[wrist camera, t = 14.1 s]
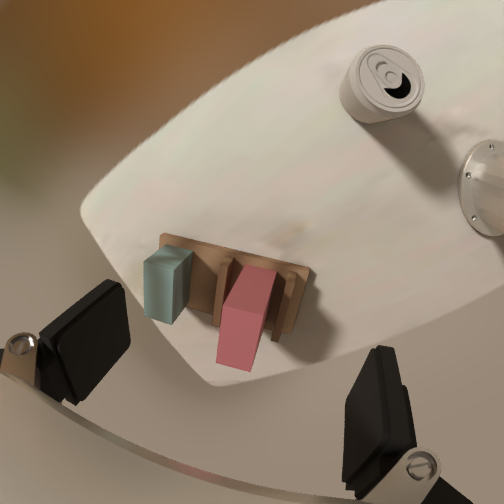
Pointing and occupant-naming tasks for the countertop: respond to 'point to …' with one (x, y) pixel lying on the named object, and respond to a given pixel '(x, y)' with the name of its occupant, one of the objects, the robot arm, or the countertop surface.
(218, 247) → the rack
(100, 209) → the countertop surface
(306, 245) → the countertop surface
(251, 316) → the dusty red block
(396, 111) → the beverage can
